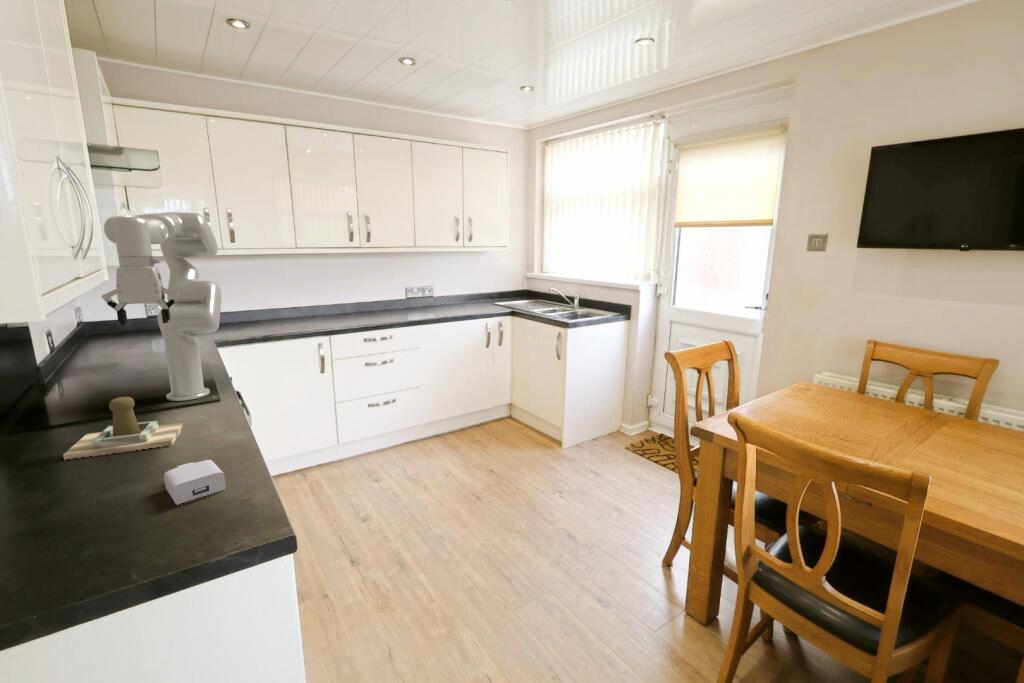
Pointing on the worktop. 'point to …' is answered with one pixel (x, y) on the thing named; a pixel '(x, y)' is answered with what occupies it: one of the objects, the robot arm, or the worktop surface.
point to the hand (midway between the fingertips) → (145, 323)
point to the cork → (123, 417)
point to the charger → (194, 481)
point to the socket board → (125, 440)
